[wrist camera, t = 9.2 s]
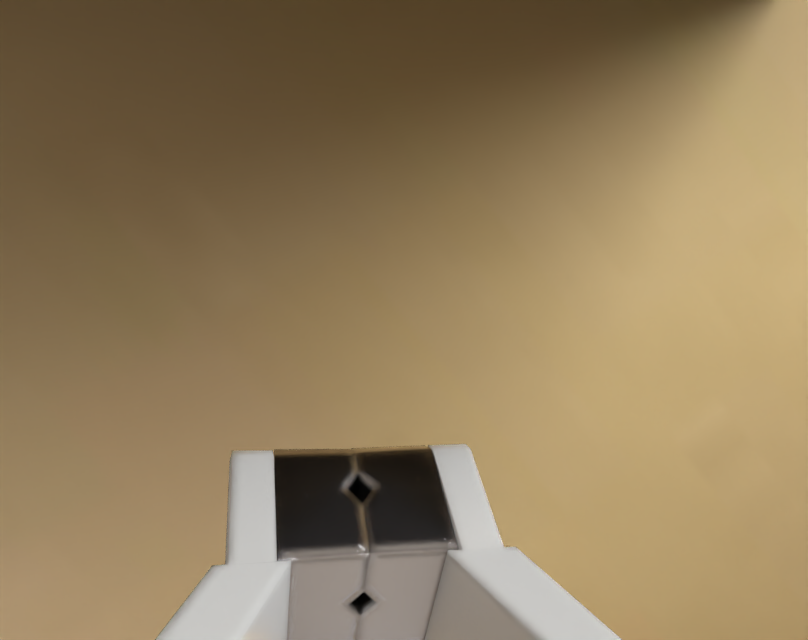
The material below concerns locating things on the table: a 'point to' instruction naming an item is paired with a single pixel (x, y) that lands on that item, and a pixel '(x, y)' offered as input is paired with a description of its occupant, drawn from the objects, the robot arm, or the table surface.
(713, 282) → the table surface
